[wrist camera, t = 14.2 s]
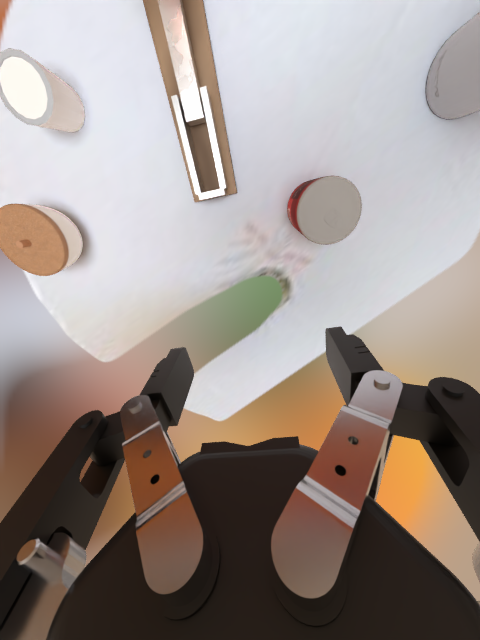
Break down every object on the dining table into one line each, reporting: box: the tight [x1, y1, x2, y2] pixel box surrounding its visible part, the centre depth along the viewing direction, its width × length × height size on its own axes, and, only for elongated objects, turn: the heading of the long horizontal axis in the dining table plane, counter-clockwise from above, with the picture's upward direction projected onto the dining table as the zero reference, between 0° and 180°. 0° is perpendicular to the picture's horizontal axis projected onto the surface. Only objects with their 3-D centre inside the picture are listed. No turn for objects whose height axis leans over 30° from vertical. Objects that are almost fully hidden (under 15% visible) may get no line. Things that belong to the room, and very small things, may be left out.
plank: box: [143, 0, 237, 202], centre depth 31 cm, size 7×28×1 cm, turn 11°
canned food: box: [288, 176, 362, 245], centre depth 33 cm, size 8×8×11 cm
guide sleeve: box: [171, 86, 228, 200], centre depth 33 cm, size 5×12×3 cm, turn 11°
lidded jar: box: [0, 204, 83, 276], centre depth 38 cm, size 11×11×9 cm
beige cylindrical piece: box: [0, 48, 85, 132], centre depth 31 cm, size 7×7×7 cm
